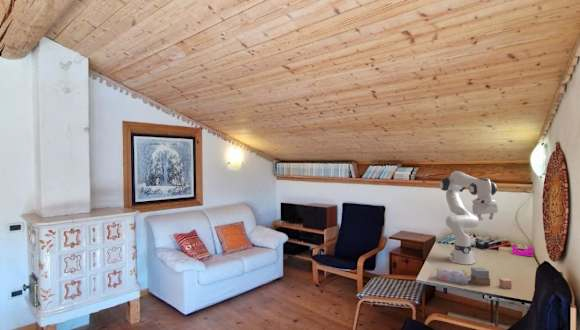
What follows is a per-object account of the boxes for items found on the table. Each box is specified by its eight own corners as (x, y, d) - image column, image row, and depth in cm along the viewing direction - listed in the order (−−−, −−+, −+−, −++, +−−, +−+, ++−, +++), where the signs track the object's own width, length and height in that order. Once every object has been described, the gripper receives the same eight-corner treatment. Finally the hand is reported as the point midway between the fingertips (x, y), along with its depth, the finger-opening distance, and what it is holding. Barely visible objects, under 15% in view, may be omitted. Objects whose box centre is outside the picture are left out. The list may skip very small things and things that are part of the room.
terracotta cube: (499, 285, 226) (499, 278, 226) (507, 285, 225) (506, 278, 225) (503, 288, 221) (503, 280, 221) (511, 288, 220) (511, 280, 220)
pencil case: (469, 282, 232) (469, 269, 232) (469, 286, 225) (468, 272, 225) (437, 278, 243) (436, 265, 243) (435, 282, 235) (435, 268, 236)
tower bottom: (470, 281, 236) (470, 274, 236) (483, 281, 235) (483, 274, 235) (476, 286, 227) (476, 278, 227) (490, 285, 226) (490, 278, 226)
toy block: (532, 254, 298) (532, 246, 298) (533, 256, 293) (532, 247, 293) (512, 252, 307) (512, 244, 307) (512, 254, 302) (512, 246, 302)
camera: (491, 250, 315) (491, 240, 315) (479, 250, 317) (478, 240, 317) (485, 247, 329) (485, 237, 329) (473, 247, 331) (473, 236, 332)
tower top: (471, 274, 235) (471, 267, 235) (483, 274, 235) (482, 267, 235) (476, 278, 227) (476, 271, 227) (489, 278, 227) (488, 270, 227)
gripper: (491, 199, 246) (492, 218, 246) (470, 201, 240) (471, 220, 239) (499, 200, 240) (500, 219, 240) (477, 201, 234) (478, 221, 233)
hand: (485, 219), depth 240 cm, fingers open, 8 cm apart
